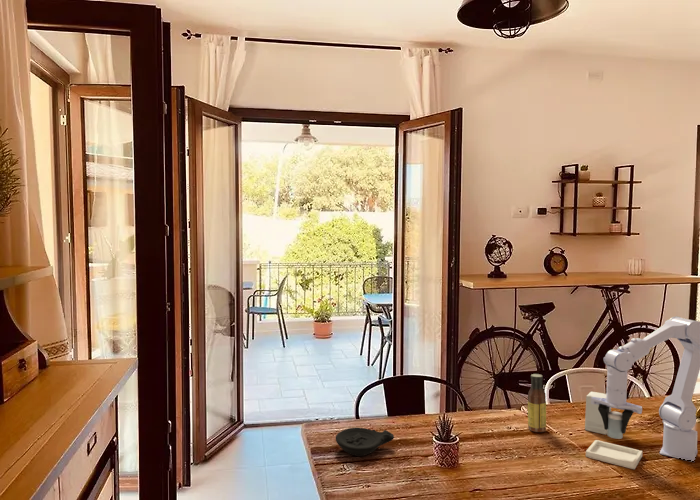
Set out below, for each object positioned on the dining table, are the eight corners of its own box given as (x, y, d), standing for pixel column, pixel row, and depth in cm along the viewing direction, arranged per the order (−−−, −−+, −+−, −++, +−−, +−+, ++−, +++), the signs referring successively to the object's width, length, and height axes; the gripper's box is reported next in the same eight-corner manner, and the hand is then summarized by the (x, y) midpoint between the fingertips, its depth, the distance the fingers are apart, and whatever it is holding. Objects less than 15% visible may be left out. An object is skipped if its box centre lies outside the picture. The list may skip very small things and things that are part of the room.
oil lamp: (402, 456, 170) (402, 440, 170) (343, 463, 164) (343, 447, 164) (385, 438, 184) (385, 424, 184) (330, 444, 178) (330, 429, 178)
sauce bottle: (543, 427, 196) (545, 373, 196) (548, 433, 190) (549, 378, 189) (525, 426, 197) (526, 372, 196) (528, 432, 191) (530, 377, 190)
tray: (642, 456, 172) (642, 451, 172) (634, 469, 163) (634, 463, 163) (595, 444, 181) (595, 439, 181) (585, 456, 172) (585, 451, 171)
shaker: (624, 435, 172) (625, 413, 172) (621, 440, 169) (622, 417, 168) (608, 432, 175) (609, 410, 175) (605, 436, 171) (606, 414, 171)
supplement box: (606, 435, 190) (607, 399, 189) (584, 430, 194) (585, 395, 194) (611, 429, 196) (612, 394, 195) (589, 424, 200) (590, 390, 200)
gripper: (589, 386, 172) (587, 428, 173) (639, 396, 163) (637, 440, 164) (594, 381, 178) (593, 422, 178) (644, 390, 169) (642, 433, 169)
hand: (614, 430), depth 172 cm, fingers closed on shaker, 4 cm apart
